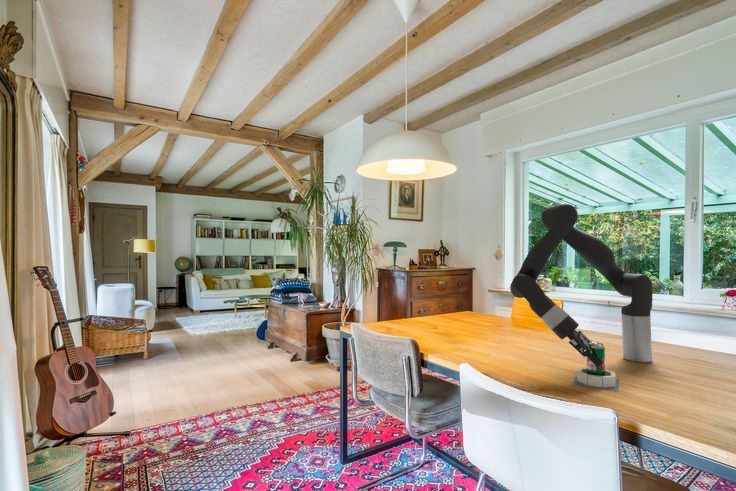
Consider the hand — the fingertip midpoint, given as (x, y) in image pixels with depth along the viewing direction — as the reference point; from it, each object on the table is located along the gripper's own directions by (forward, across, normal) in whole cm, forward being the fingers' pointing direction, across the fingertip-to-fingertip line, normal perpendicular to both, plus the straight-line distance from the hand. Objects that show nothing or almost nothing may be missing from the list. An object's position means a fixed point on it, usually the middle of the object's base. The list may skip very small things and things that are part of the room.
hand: (601, 361), depth 120 cm
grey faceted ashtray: (+3, 0, +6) cm, 7 cm away
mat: (+4, 0, +6) cm, 7 cm away
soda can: (+3, 0, +6) cm, 7 cm away
